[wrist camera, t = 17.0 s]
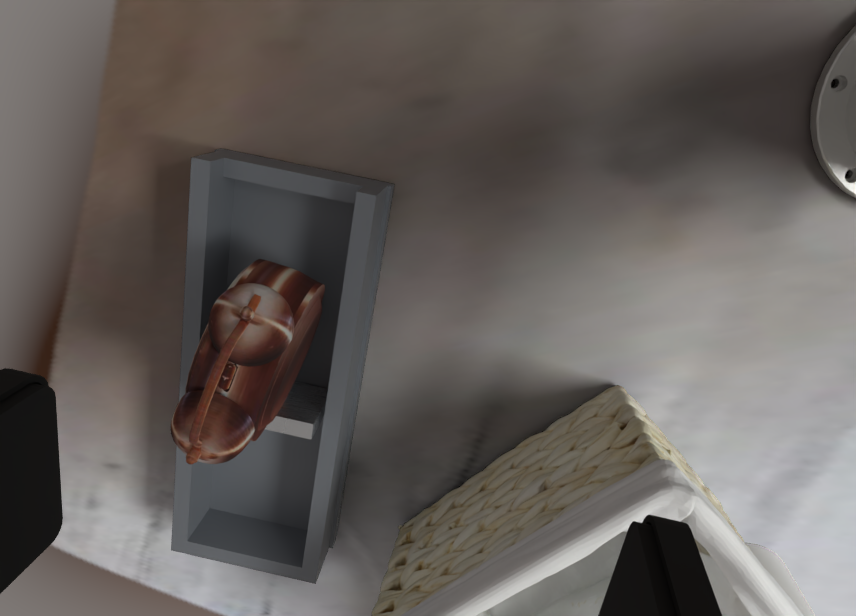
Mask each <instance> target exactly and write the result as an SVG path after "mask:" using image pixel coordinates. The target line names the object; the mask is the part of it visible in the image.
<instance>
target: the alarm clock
mask: <svg viewBox="0 0 856 616" xmlns="http://www.w3.org/2000/svg"><path fill="white" fill-rule="evenodd" d="M324 292H325V285H324V284H322V283H320V282H317V281H316V280H314V279H312V278H310V277H309V276H307V275H305V274H303V273H302V272H300V271H297V270H295V269H293V268H290V267H287V266H284V265H280V264H277V263H274V262H271V261H267V260H264V259H258V260H256V261H254V262H253V263H252V264H251V265H249V266H248V267H246V268H245V269H244V270H243V271H242V272H241V273H240V274H239V275H238V276H237V277H236V279H235V280H234V281H233V282H232V284H231V285H230V287H229V288H228V289H227V291H225V292H224V293H223V294H222V295H221V296H220V297H219V298H218V299H217V300H216V302H215V303H214V305H213V307H212V309H211V312H210V316H209V320H208V325H207V327H206V329H205V331H204V333H203V335H202V338H201V340H200V343H199V345H198V348H197V350H196V352H195V355H194V358H193V361H192V364H191V367H190V370H189V374H188V379H187V384H186V390H185V395H184V396H183V397H182V398H181V399H180V401H179V403H178V405H177V407H176V409H175V411H174V414H173V417H172V421H171V434H172V437H173V440H174V442H175V444H176V445H177V446H178V448H179V449H180V450H181V451H182V452H183V453H184V454H186V462H187V463H188V464H190V465H191V464H194V463H196V462H197V461H199V462H202V463H207V464H219V463H224V462H228V461H230V460H231V459H233V458H235V457H236V456H237V455H238V454H240V453H241V452H242V451H243V449H244V448H245V447H246V446H247V445H248V444H249V442H250V441H256V440H257V439H258V438H259V436H260V435H261V434H262V432H263V431H264V429H265V428H266V426H267V425H268V424H270V423H271V422H272V421H273V420H274V418H275V417H276V415H277V414H278V412H279V411H280V409H281V407H282V405H283V403H284V402H285V400H286V398H287V396H288V394H289V392H290V390H291V388H292V386H293V384H294V382H295V380H296V378H297V375H298V373H299V371H300V369H301V367H302V364H303V362H304V360H305V357H306V355H307V353H308V350H309V348H310V345H311V343H312V340H313V338H314V335H315V332H316V330H317V327H318V324H319V321H320V317H321V313H322V300H323V296H324Z"/></svg>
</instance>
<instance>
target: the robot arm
mask: <svg viewBox="0 0 856 616" xmlns="http://www.w3.org/2000/svg"><path fill="white" fill-rule="evenodd" d="M833 79H834V80H835V81H836V83H835V86H834V87H832V88H831V82H832V80H833ZM810 131H811V137H812V143H813V148H814V151H815V153H816V156H817V158H818V161H819V163H820V165H821V167H822V168H823V170H824V171H825V172H826V174H827V175H828V177H829V178H830V180H831V181H832V182H834V183H835V184H836V185H837V186H838V187H839V188H840V189H841V190H843V191H844V192H845V193H847V194H849V195H850V196H852V197H854V198H856V25H855V26H854V27H853V28H852V29H851V31H850V32H849V33H848V34H847V35H846V36H845V37H844V39H843V40H842V41H841V42H840V43H839V44H838V46H837V47H836V49H835V50H834V52H833V53H832V55H831V56H830V58H829V60H828V61H827V63H826V64H825V66H824V69H823V71H822V73H821V76H820V78H819V80H818V83H817V85H816V88H815V92H814V97H813V101H812V105H811V118H810ZM847 171H849V175H848V176H847V177H845V174H846V172H847ZM62 519H63V517H62V500H61V482H60V465H59V448H58V430H57V413H56V397H55V392H54V390H53V389H52V388H50V387H49V386H48V382H47V381H46V379H45V378H44V377H42V376H40V375H36V374H31V373H26V372H22V371H17V370H13V369H2V370H0V593H1V592H3V590H4V589H6V588H7V587H8V586H9V585H10V584H11V583H12V582H13V581H14V580H15V579H16V578H17V577H18V576H19V575H20V574H21V573H22V572H23V571H24V570H25V569H26V568H27V567H28V566H29V565H30V564H31V563H32V562H33V561H34V560H35V559H36V558H37V557H38V556H39V555H40V554H41V553H42V552H43V551H44V550H45V549H46V548H47V547H48V546H49V545H50V544H51V543H52V542H53V541H54V540H55V538H56V537H57V535H58V533H59V531H60V529H61V525H62ZM598 616H722V614H721V611H720V608H719V606H718V603H717V600H716V597H715V595H714V592H713V589H712V586H711V583H710V581H709V578H708V575H707V572H706V570H705V567H704V564H703V561H702V559H701V556H700V553H699V550H698V548H697V545H696V542H695V539H694V536H693V534H692V531H691V529H690V527H689V525H688V524H686V523H684V522H680V521H676V520H671V519H667V518H662V517H658V516H654V515H647V516H646V517H645V518H644V520H643V522H642V523H640V522H636V521H633V522H632V523H631V524H630V526H629V529H628V531H627V534H626V537H625V540H624V543H623V546H622V549H621V551H620V554H619V557H618V560H617V563H616V566H615V569H614V571H613V574H612V577H611V580H610V583H609V586H608V589H607V592H606V594H605V597H604V600H603V603H602V606H601V609H600V612H599V615H598Z"/></svg>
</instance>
